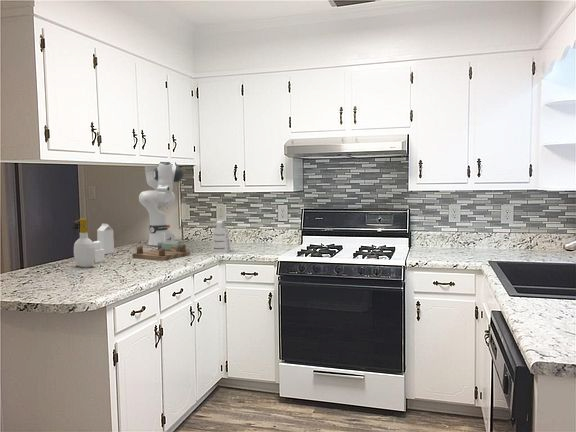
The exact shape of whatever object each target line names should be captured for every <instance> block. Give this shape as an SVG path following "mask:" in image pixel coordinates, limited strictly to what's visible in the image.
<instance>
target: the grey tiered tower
mask: <svg viewBox="0 0 576 432" xmlns="http://www.w3.org/2000/svg"><path fill="white" fill-rule="evenodd" d="M225 222H226V221H225V220H217V221H216V223H215V225H216V227H213V230H212V232H213V233H212V240H211V248H210V249H211V250H210V253H213V254H218V253H219V254H222V253H223V254H227V253H229V252H230V251H231V249H232V248H231V242H230V241H231V240H230V235H229V228H228V226H226V224H225Z"/></svg>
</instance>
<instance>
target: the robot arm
mask: <svg viewBox="0 0 576 432" xmlns="http://www.w3.org/2000/svg"><path fill="white" fill-rule="evenodd" d="M144 173H145V178H146V184H147V185H148V186H149V187H150V188H152V189H153V190H151V189H150V190H144V191H141V192H140V194H139V195H138V201H139V203H140V205H142V207H144V208H145V209H146V210H147V212H148V216H149V227H148V228H149V238H148V242H147V243H148V244H147V245H149V246H157V247H158V242H165V243H175V244H179V241H178V240H176V237H175V234H174V233H173V232H171V230H169V229H170V228H171V225H170V224H167V221H166V219H167V217H166V213H165V212H164V211H162V210H160V209H159V208H158V207H159V206H162V207H163V209H164V210H168V209H169V205H174V202H176V201H175V200H176V194H175V192H173V189H174V188H173V187H174V184H173V183H180V181H182V179H183V177H184V175H183V169H182V168H180V166H179V165H178V164H177V163H176V162H175V164H173V165H171V163H170V162H160V163H159V166H145V165H144Z"/></svg>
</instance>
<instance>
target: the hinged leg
mask: <svg viewBox="0 0 576 432" xmlns="http://www.w3.org/2000/svg"><path fill="white" fill-rule="evenodd" d="M180 245H181V243H165V242H158V245H157V249H160V248H165V250H171V247H172V246H175V247H178V251H180Z"/></svg>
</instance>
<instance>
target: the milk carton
mask: <svg viewBox="0 0 576 432" xmlns="http://www.w3.org/2000/svg"><path fill="white" fill-rule="evenodd" d="M96 233H97V234H96V235H97V236H96V237H97V239H96V240H97V241H100V242H101V248H100V249H104V253H105V255H110V254H114V253H115V240H114V239H115V238H114V235H115V234H114V229H113V228H112V227H111V226H110V225H109V224H108V223H101V226H99V228H97V229H96Z"/></svg>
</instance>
